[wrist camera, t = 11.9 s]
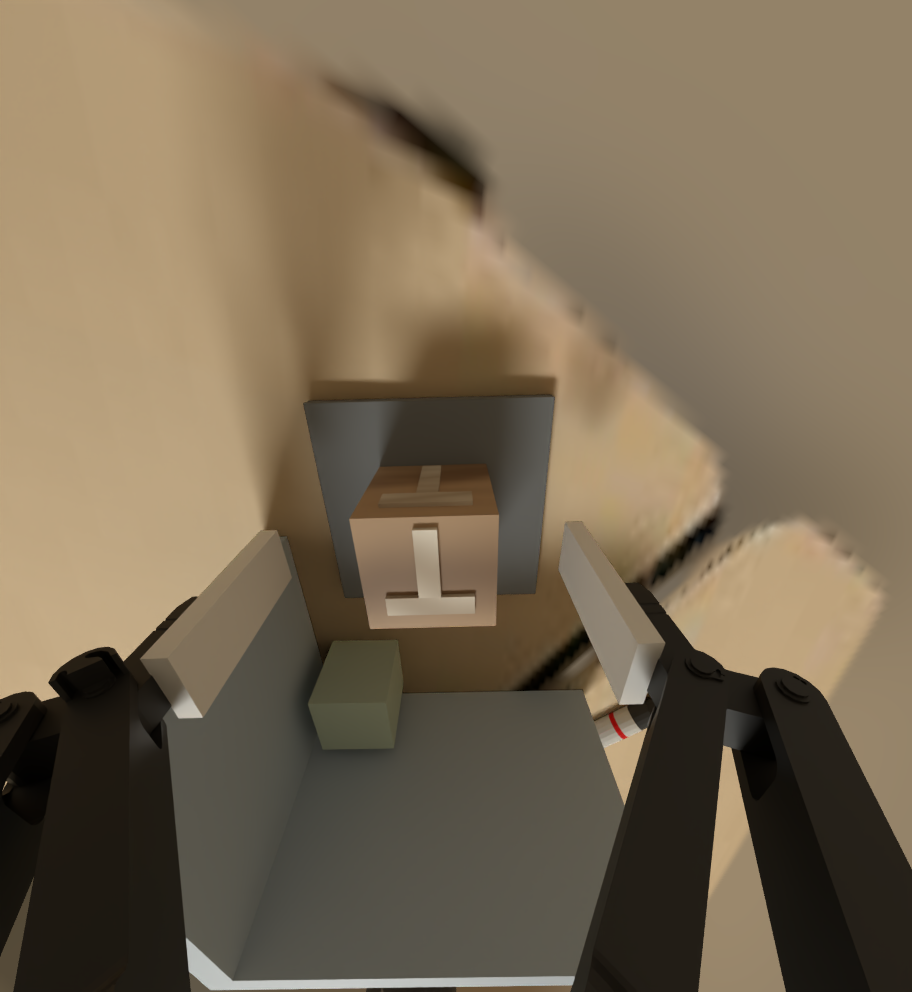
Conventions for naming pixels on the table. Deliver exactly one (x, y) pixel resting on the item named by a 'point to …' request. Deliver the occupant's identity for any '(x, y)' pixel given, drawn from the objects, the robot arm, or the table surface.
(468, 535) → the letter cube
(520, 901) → the screen
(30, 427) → the table surface
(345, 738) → the plain cube
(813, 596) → the table surface
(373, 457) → the mat
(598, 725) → the marker
